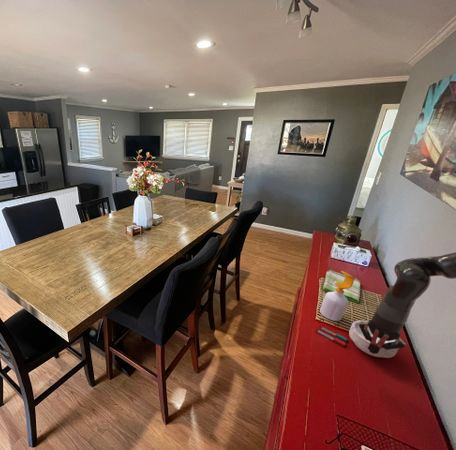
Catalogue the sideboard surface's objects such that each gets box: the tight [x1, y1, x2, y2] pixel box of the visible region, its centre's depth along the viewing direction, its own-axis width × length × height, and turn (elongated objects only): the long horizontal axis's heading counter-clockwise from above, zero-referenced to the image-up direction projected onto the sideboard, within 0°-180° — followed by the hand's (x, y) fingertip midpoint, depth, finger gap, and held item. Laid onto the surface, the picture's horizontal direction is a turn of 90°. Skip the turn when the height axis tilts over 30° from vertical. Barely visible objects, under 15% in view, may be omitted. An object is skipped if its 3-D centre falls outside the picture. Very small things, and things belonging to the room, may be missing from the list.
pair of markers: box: [317, 329, 346, 347], centre depth 105 cm, size 10×2×1 cm, turn 43°
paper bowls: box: [348, 319, 400, 359], centre depth 100 cm, size 15×15×8 cm
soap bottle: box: [319, 270, 356, 322], centre depth 114 cm, size 9×9×25 cm
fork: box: [320, 326, 348, 343], centre depth 107 cm, size 9×2×1 cm, turn 43°
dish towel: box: [322, 269, 361, 304], centre depth 139 cm, size 17×23×4 cm
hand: (372, 351), depth 88 cm, fingers closed
